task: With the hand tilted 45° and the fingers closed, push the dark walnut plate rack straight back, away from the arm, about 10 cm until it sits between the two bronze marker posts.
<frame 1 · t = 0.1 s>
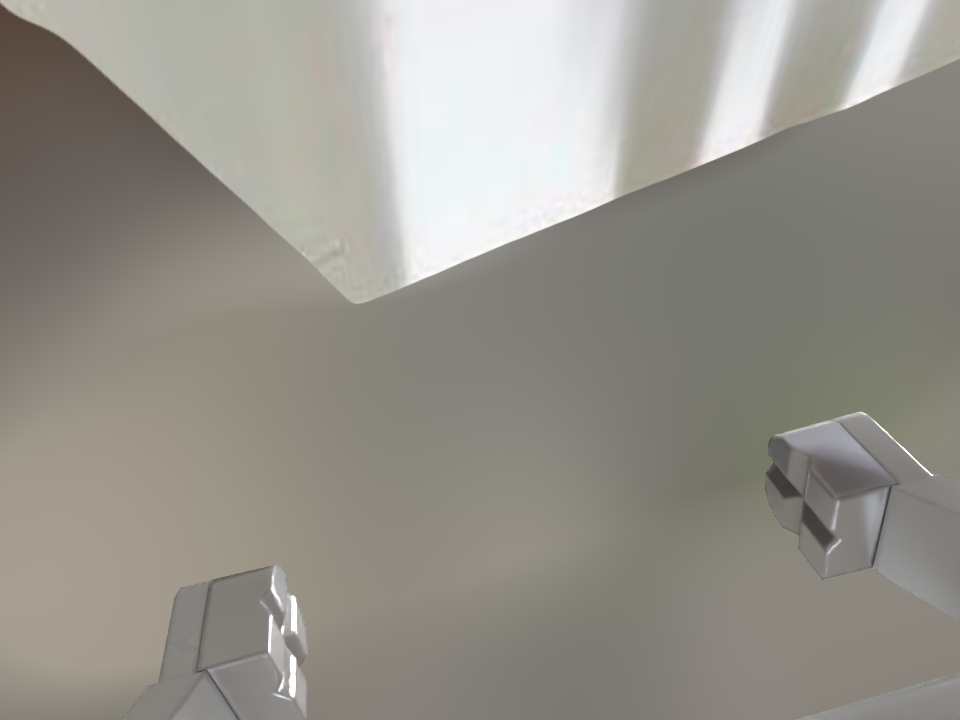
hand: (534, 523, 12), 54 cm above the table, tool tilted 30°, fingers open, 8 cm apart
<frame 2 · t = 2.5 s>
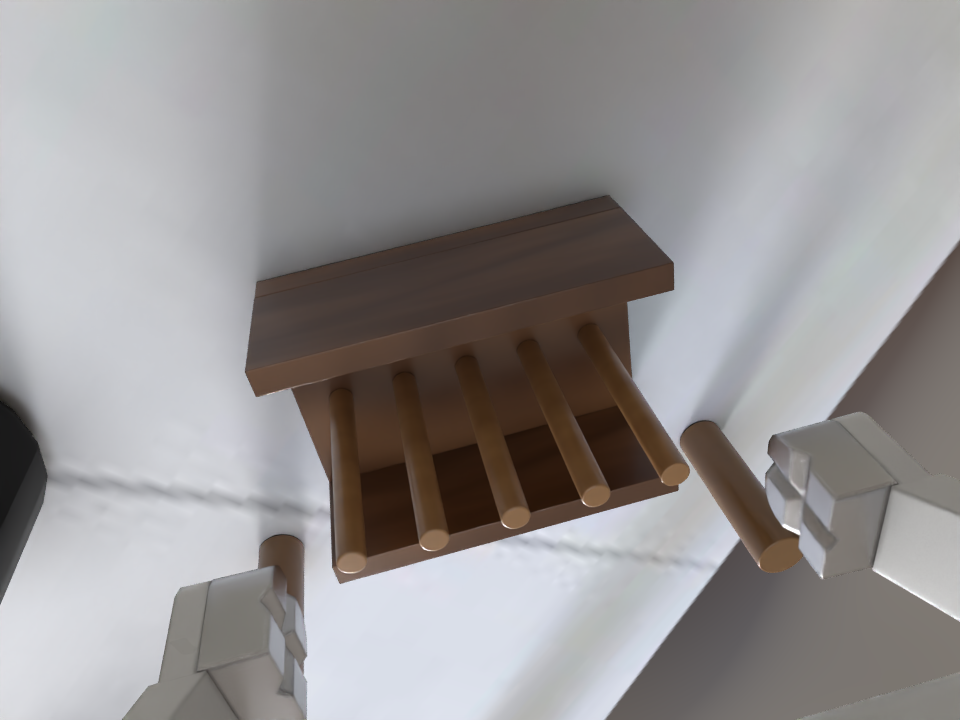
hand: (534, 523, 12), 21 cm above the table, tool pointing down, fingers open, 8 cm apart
marker posts: (494, 492, 41), on the table
plate rack: (460, 348, 35), on the table
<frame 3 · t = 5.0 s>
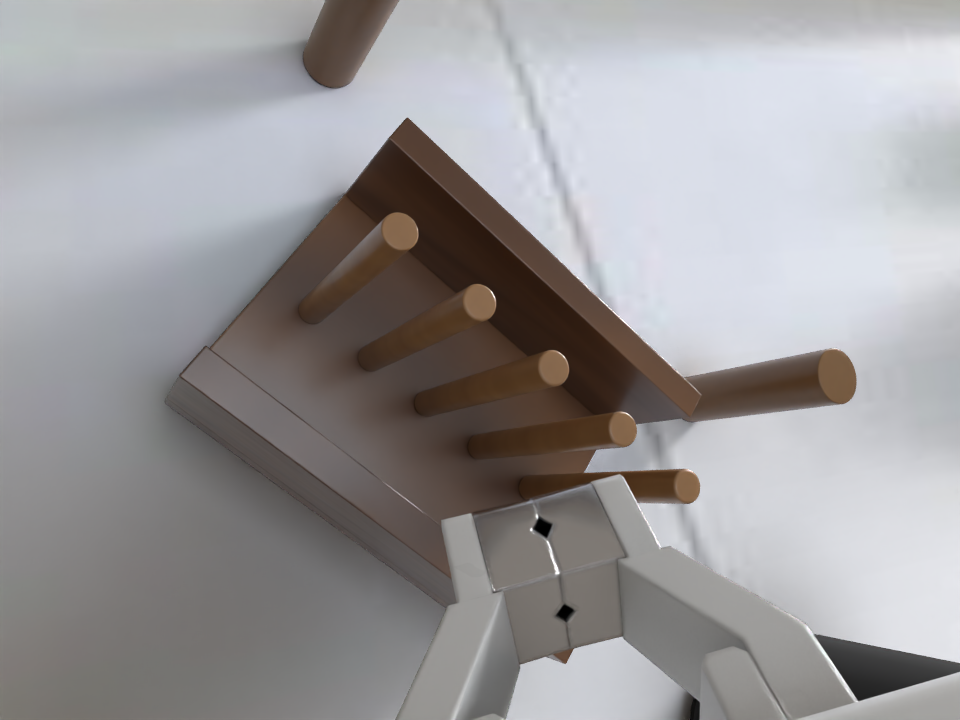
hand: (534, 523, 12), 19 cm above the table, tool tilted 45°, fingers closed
marker posts: (525, 246, 36), on the table
plate rack: (413, 407, 32), on the table
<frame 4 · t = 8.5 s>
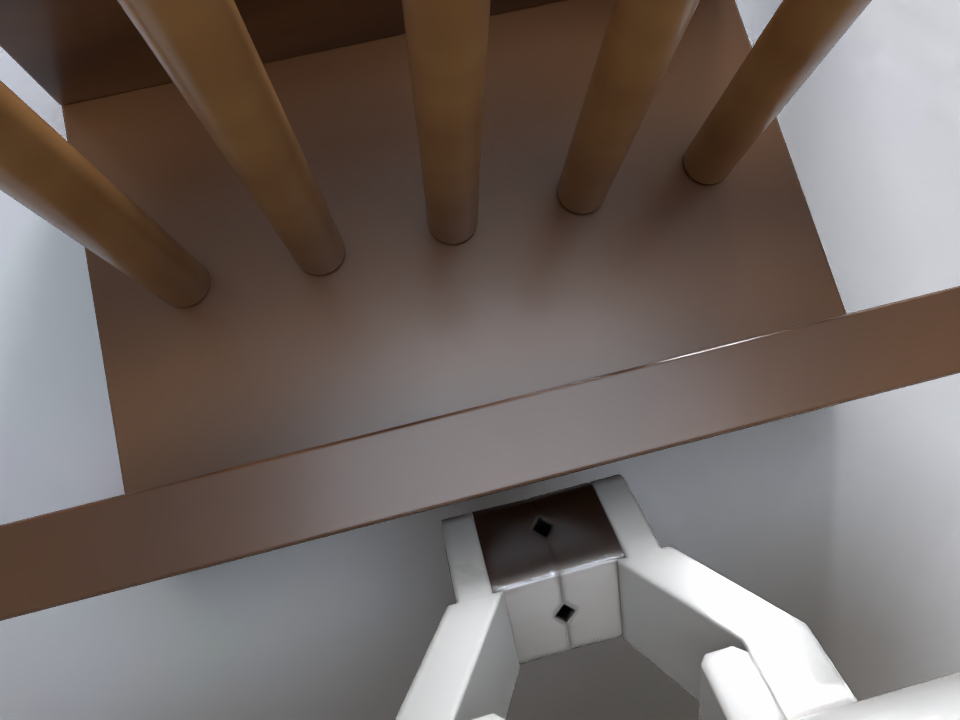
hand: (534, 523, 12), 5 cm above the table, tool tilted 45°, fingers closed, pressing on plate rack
plate rack: (453, 245, 18), on the table, touching gripper
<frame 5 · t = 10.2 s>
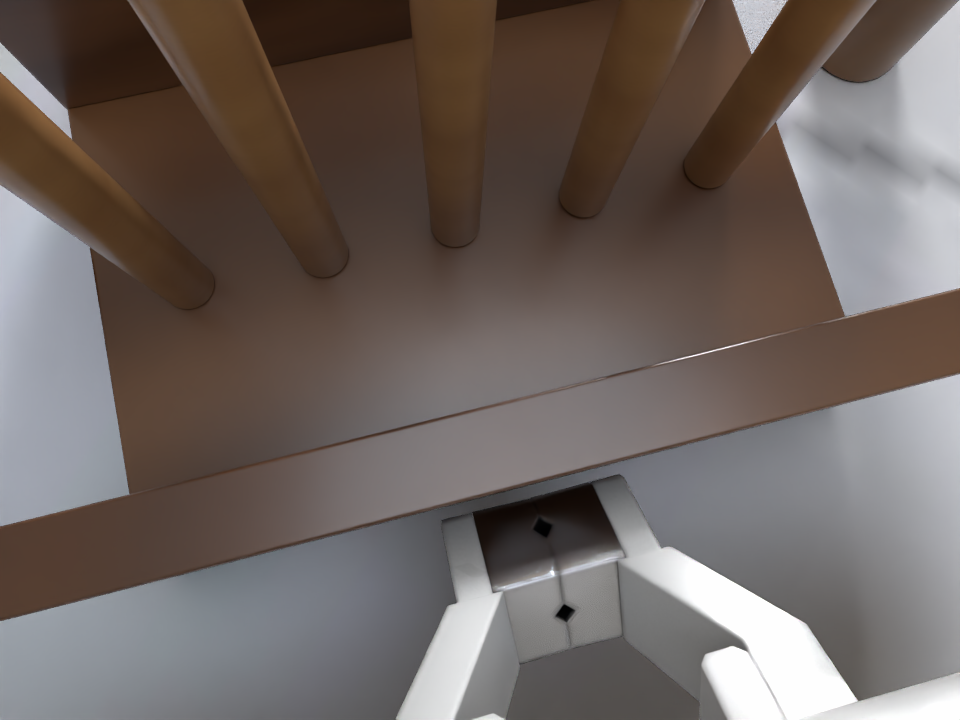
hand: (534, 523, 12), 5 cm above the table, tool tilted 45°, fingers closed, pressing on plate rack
marker posts: (405, 141, 18), on the table
plate rack: (455, 248, 18), on the table, touching gripper
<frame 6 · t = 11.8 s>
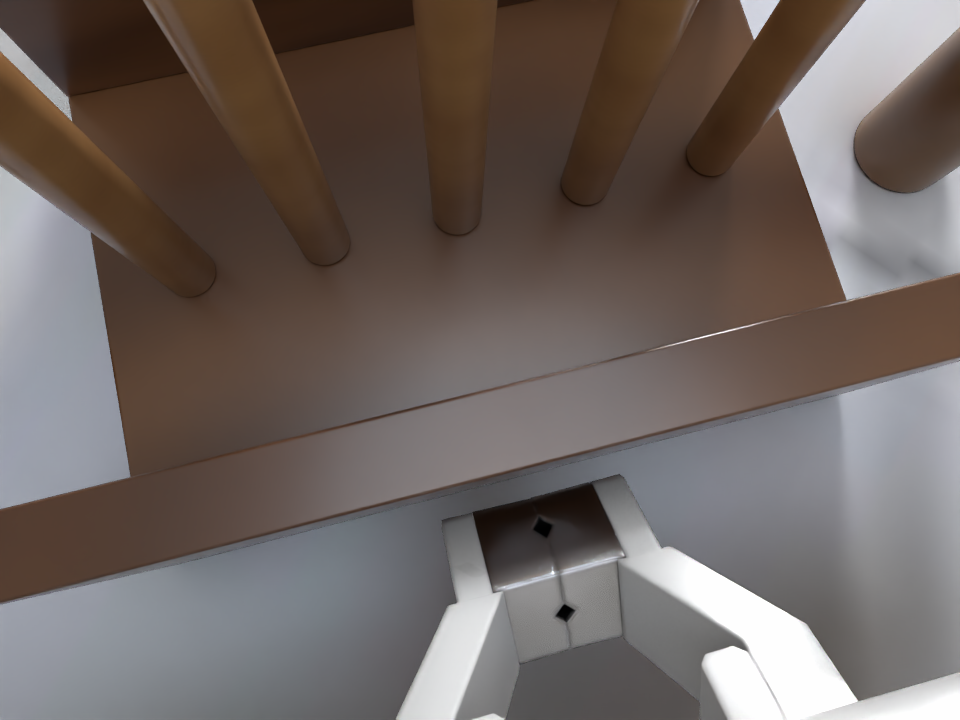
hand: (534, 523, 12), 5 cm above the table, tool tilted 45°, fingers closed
marker posts: (436, 258, 18), on the table
plate rack: (457, 236, 18), on the table
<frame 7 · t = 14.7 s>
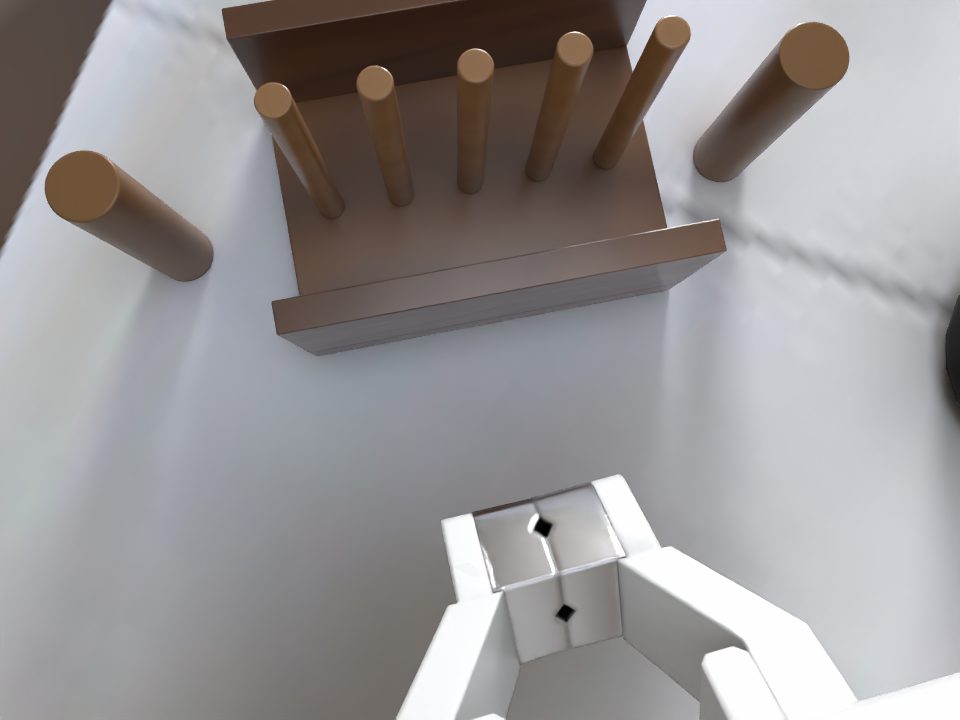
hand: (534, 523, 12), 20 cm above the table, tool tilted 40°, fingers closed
marker posts: (457, 204, 33), on the table
plate rack: (469, 193, 33), on the table
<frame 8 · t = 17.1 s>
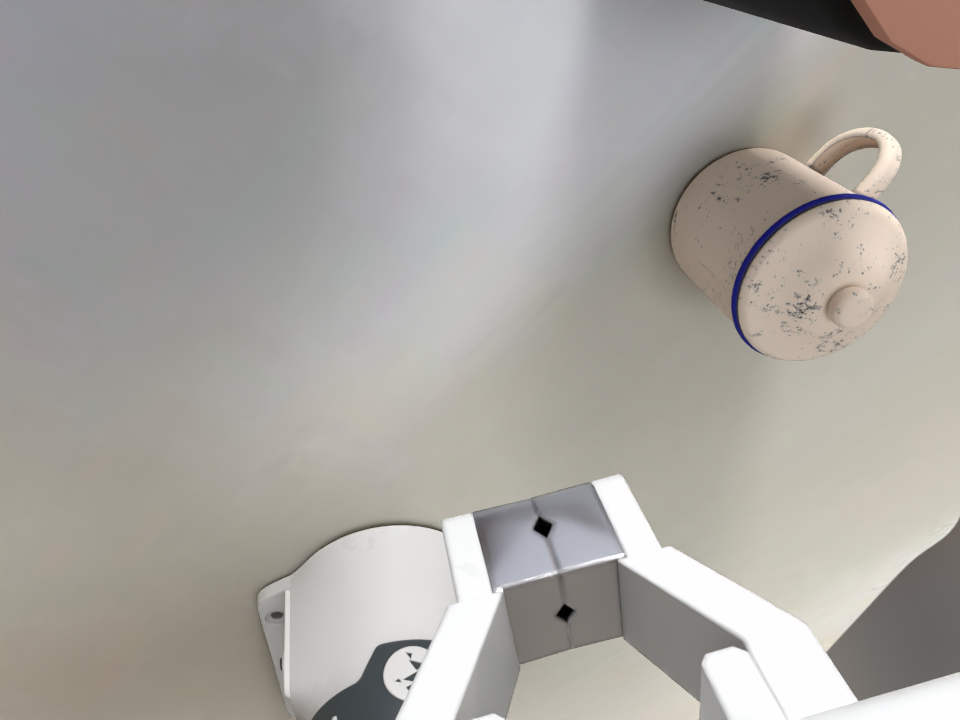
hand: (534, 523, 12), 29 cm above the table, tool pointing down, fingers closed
teacup with lid: (751, 196, 43), on the table
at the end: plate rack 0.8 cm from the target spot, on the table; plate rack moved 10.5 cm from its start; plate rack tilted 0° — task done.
